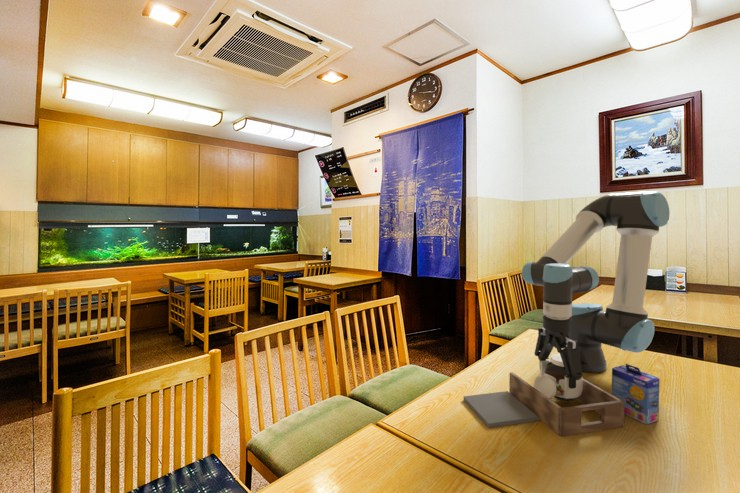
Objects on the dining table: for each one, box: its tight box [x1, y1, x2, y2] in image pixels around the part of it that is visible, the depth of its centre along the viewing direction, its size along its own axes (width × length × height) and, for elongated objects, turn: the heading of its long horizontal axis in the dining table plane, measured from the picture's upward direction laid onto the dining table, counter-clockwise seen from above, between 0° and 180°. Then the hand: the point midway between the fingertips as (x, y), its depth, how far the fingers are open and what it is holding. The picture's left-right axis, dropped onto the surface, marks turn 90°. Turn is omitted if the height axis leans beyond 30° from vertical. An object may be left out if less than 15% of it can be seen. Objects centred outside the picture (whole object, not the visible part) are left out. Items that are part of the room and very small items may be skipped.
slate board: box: [463, 390, 539, 429], centre depth 104 cm, size 15×15×1 cm
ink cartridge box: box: [611, 363, 660, 425], centre depth 100 cm, size 10×6×14 cm, turn 23°
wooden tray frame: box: [508, 371, 625, 437], centre depth 103 cm, size 23×19×7 cm
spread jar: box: [533, 353, 584, 402], centre depth 105 cm, size 12×11×12 cm
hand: (556, 388), depth 106 cm, fingers closed on spread jar, 10 cm apart
